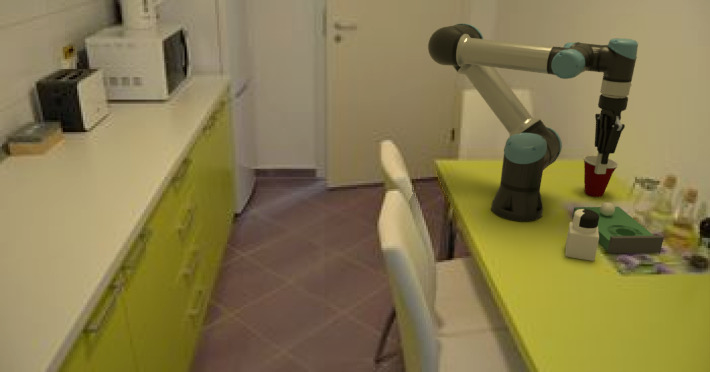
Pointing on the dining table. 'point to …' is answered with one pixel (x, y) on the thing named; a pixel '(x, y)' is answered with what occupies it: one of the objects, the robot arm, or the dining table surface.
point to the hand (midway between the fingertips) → (599, 173)
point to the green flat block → (624, 233)
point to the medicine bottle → (583, 235)
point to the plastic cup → (596, 176)
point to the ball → (607, 209)
